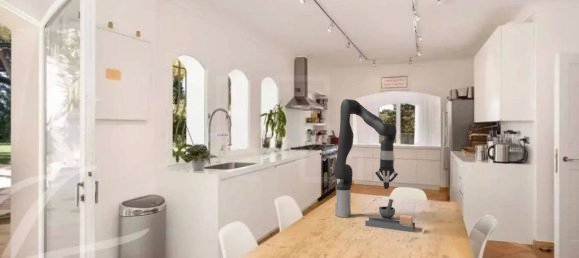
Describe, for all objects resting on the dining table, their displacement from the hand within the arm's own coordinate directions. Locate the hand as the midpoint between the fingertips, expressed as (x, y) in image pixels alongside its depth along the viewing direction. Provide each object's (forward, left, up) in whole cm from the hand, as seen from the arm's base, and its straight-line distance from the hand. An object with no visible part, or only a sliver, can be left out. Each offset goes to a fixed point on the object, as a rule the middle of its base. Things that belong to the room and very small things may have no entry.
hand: (386, 188), depth 197 cm
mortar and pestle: (-3, +19, -23) cm, 30 cm away
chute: (+2, 0, -22) cm, 23 cm away
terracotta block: (+11, 0, -22) cm, 24 cm away
